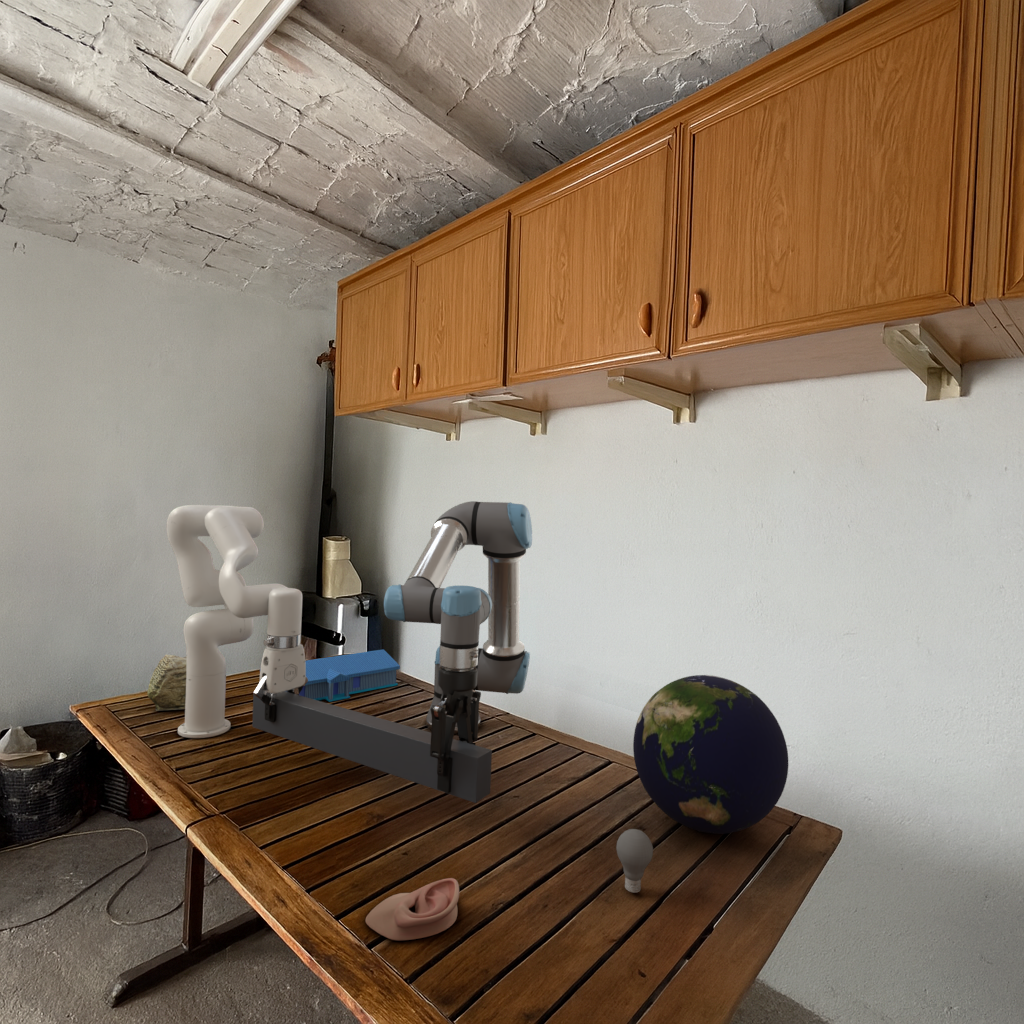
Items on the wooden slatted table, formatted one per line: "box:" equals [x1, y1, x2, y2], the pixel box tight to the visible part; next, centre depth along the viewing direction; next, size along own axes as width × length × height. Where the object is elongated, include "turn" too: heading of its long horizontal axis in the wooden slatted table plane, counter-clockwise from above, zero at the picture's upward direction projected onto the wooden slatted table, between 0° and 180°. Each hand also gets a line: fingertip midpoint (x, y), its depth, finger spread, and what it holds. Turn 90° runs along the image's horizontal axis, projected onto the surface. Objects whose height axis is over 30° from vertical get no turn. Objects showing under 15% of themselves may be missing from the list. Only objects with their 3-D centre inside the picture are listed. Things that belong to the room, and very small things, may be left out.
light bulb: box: [615, 828, 654, 894], centre depth 106 cm, size 6×6×10 cm
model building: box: [259, 649, 401, 703], centre depth 208 cm, size 39×24×10 cm, turn 132°
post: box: [252, 690, 493, 804], centre depth 136 cm, size 65×5×8 cm, turn 59°
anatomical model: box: [365, 877, 460, 942], centre depth 97 cm, size 13×4×12 cm
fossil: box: [147, 654, 187, 712], centre depth 185 cm, size 9×18×15 cm, turn 132°
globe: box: [632, 674, 789, 835], centre depth 129 cm, size 30×30×30 cm
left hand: (280, 716), depth 150 cm, fingers closed on post, 5 cm apart
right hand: (452, 784), depth 123 cm, fingers closed on post, 5 cm apart
